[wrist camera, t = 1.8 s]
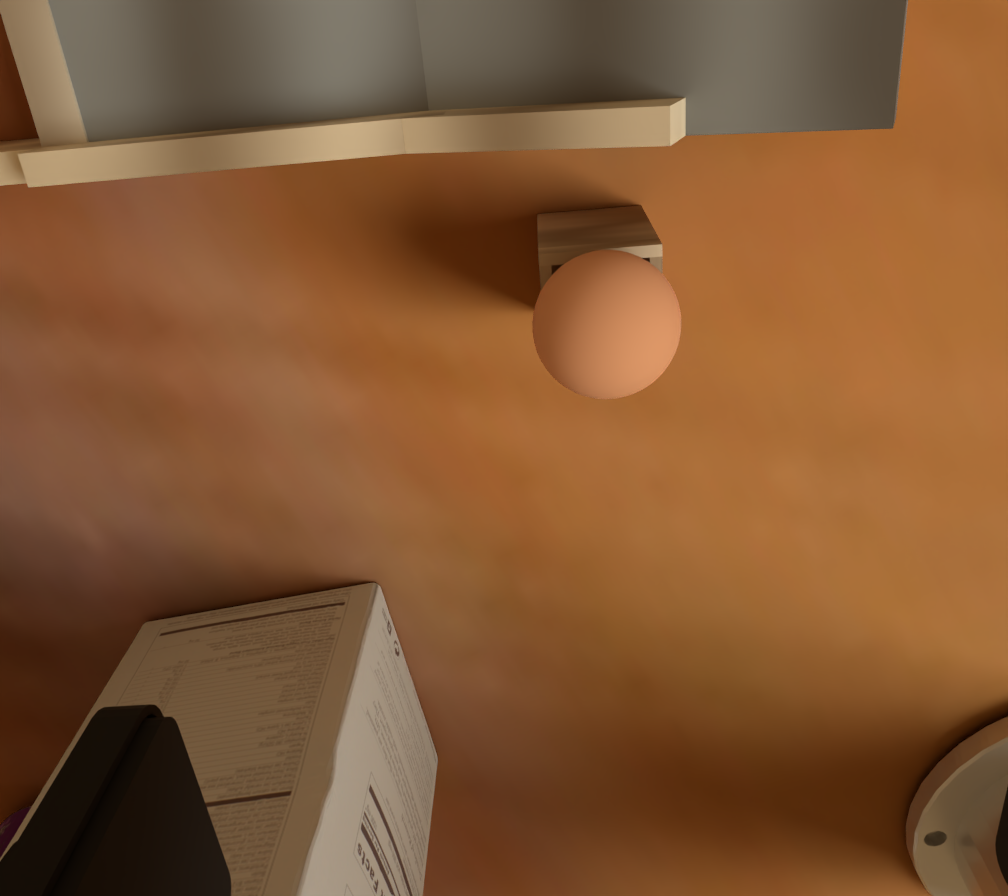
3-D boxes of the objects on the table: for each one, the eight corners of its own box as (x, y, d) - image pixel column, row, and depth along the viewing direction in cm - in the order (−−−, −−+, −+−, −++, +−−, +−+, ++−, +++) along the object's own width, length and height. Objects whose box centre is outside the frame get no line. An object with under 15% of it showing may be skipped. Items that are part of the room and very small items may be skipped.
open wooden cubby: (640, 205, 25) (662, 243, 21) (642, 305, 27) (662, 360, 23) (537, 214, 26) (538, 254, 21) (544, 313, 27) (546, 368, 23)
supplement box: (224, 793, 37) (11, 1341, 22) (137, 617, 33) (-199, 1140, 18) (447, 761, 36) (385, 1317, 21) (385, 575, 32) (251, 1098, 16)
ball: (669, 228, 22) (693, 266, 18) (670, 361, 23) (691, 418, 20) (527, 240, 22) (526, 280, 19) (537, 371, 23) (538, 428, 20)
